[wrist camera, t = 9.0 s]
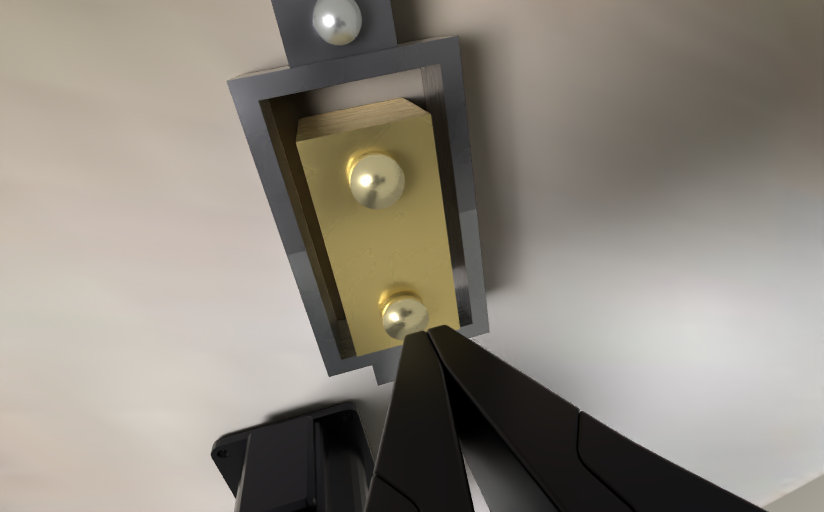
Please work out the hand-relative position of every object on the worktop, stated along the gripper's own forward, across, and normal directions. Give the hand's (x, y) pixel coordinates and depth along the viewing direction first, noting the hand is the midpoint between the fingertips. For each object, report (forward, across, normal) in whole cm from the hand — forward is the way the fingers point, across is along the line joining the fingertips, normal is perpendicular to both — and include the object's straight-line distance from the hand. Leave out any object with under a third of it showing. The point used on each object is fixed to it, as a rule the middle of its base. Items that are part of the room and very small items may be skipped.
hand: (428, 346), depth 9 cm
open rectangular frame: (+8, 0, 0) cm, 8 cm away
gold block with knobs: (+8, 0, 0) cm, 9 cm away
